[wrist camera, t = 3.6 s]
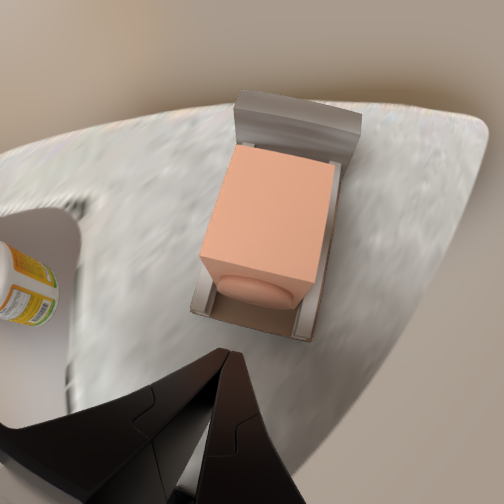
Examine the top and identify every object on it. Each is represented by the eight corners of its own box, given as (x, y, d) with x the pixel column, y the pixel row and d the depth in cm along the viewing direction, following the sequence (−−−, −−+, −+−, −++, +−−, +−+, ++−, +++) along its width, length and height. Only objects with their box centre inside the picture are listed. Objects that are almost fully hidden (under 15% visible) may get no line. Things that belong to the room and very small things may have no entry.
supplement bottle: (21, 265, 23) (-52, 226, 14) (64, 265, 23) (-11, 218, 14) (15, 324, 22) (-66, 301, 12) (59, 329, 22) (-26, 307, 12)
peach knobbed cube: (292, 318, 20) (311, 296, 13) (216, 299, 20) (194, 268, 13) (312, 225, 22) (334, 165, 15) (242, 209, 23) (236, 144, 15)
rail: (309, 341, 21) (331, 335, 15) (192, 312, 22) (166, 294, 16) (341, 167, 26) (361, 114, 19) (244, 146, 26) (241, 89, 20)
